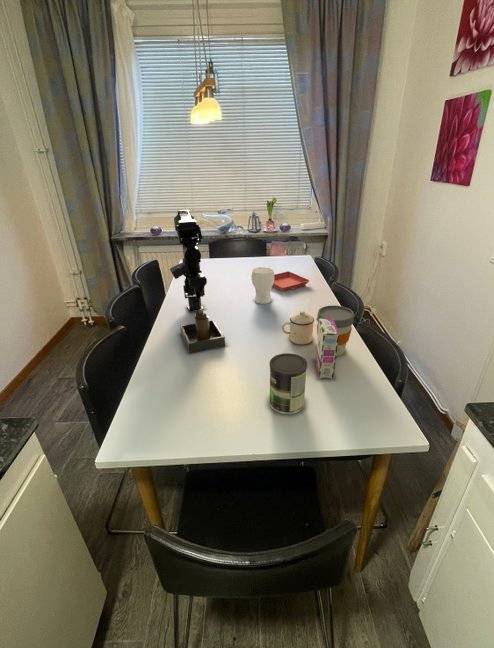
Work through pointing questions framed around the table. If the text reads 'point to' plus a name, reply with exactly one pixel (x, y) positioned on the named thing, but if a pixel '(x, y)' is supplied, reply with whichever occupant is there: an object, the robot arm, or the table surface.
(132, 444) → the table surface
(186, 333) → the dark grey tray
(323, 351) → the candy bar box
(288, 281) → the plant saucer
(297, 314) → the teacup with lid
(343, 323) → the reusable coffee cup
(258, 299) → the white vase
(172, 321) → the table surface
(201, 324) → the pepper mill
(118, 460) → the table surface
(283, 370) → the coffee can
